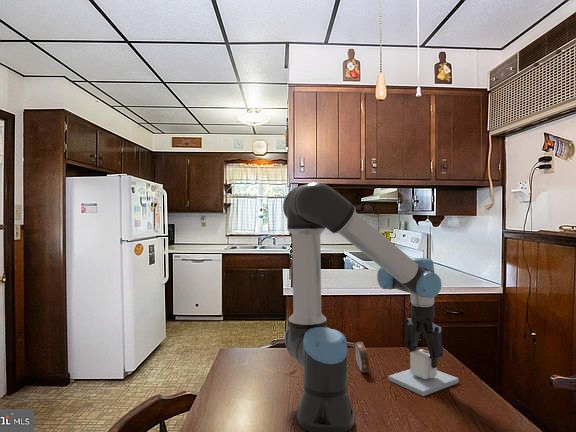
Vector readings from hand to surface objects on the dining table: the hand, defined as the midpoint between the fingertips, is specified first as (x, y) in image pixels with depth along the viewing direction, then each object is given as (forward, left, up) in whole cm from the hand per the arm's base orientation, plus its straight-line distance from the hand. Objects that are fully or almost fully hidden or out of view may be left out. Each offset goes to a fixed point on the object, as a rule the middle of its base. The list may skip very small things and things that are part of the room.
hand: (423, 373), depth 126 cm
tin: (-9, +20, -3) cm, 22 cm away
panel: (0, 0, -3) cm, 3 cm away
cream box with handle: (0, 0, 0) cm, 0 cm away
